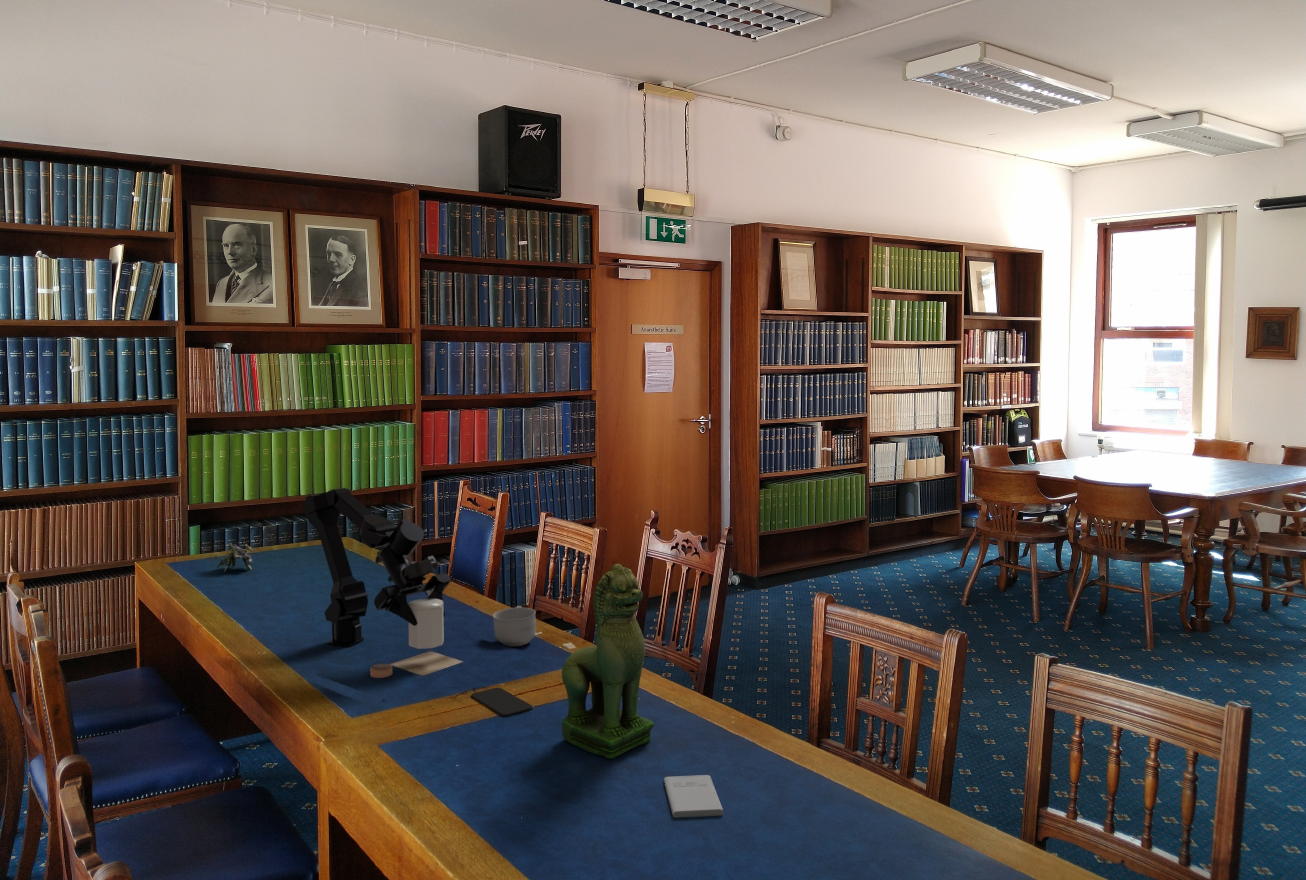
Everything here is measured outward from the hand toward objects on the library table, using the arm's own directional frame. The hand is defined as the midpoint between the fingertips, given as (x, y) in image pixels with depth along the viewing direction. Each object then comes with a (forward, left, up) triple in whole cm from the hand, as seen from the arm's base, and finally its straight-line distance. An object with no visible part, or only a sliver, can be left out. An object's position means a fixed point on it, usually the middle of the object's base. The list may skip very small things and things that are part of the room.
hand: (430, 620), depth 214 cm
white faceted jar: (-1, 0, -6) cm, 6 cm away
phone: (+25, -12, -12) cm, 30 cm away
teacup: (+9, +26, -12) cm, 30 cm away
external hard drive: (+75, -38, -13) cm, 85 cm away
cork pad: (-1, 0, -12) cm, 12 cm away
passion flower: (-112, +59, -12) cm, 128 cm away
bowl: (-7, -9, -12) cm, 17 cm away
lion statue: (+53, -22, -12) cm, 58 cm away
